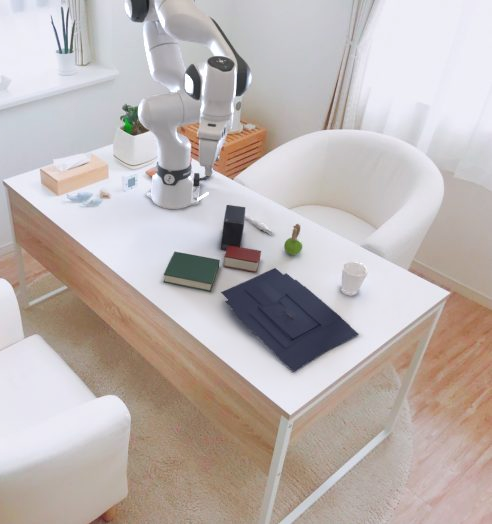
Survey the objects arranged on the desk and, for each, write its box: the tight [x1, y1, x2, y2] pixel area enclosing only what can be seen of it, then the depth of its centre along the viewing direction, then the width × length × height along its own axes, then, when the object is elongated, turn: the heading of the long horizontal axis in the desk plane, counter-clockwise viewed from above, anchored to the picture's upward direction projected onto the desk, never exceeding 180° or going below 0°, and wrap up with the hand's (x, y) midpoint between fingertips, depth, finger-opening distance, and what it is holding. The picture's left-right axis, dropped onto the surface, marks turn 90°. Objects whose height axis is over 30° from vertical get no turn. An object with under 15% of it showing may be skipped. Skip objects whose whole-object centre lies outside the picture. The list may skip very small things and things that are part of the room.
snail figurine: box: [283, 223, 303, 256], centre depth 176 cm, size 5×6×12 cm
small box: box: [219, 204, 246, 251], centre depth 181 cm, size 11×6×10 cm, turn 168°
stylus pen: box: [245, 214, 274, 236], centre depth 192 cm, size 15×3×2 cm, turn 36°
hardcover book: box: [163, 251, 221, 293], centre depth 169 cm, size 12×14×3 cm
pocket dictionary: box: [223, 245, 262, 274], centre depth 174 cm, size 6×10×4 cm, turn 72°
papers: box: [220, 267, 360, 372], centre depth 154 cm, size 24×30×4 cm
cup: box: [340, 261, 368, 297], centre depth 163 cm, size 7×10×8 cm
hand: (212, 167), depth 163 cm, fingers open, 8 cm apart
